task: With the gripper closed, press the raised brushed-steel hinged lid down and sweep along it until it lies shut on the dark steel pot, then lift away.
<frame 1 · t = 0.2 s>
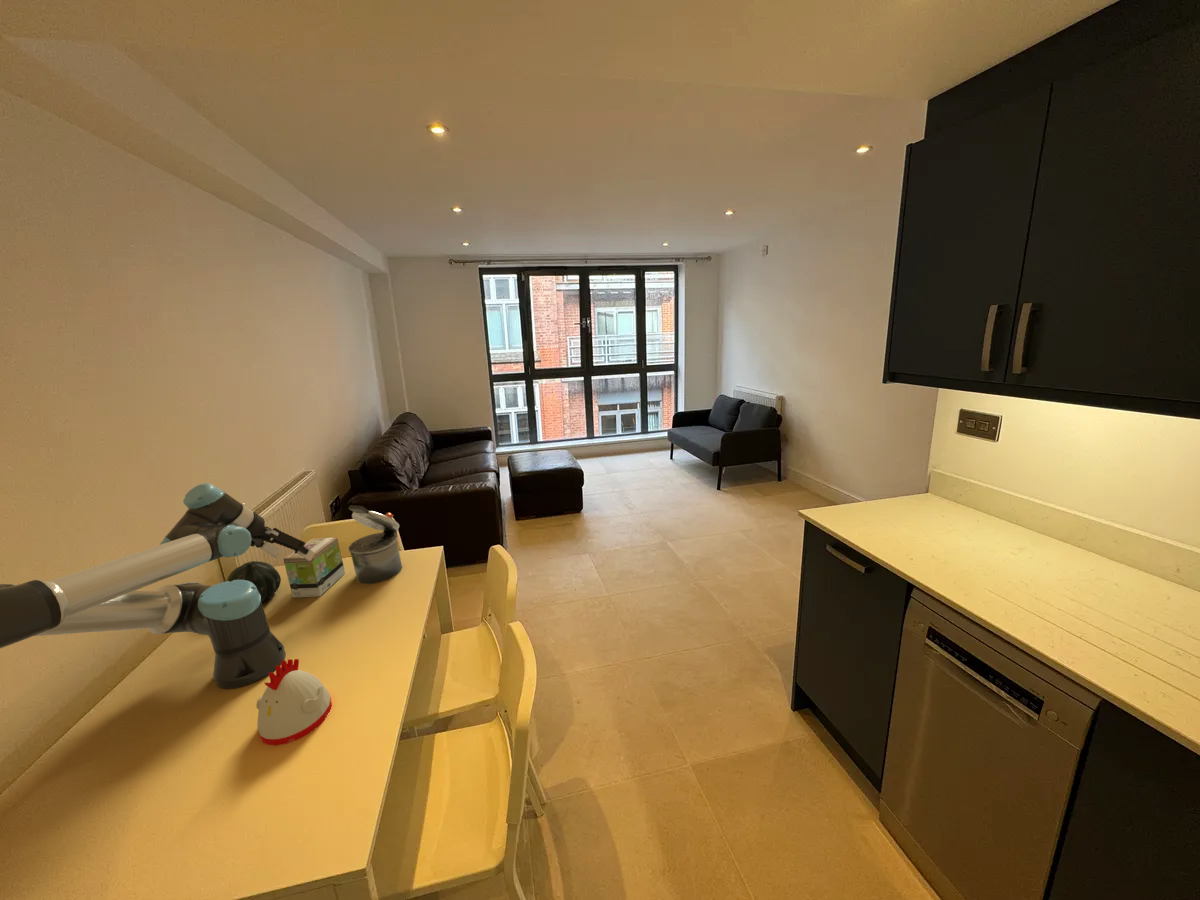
hand: (295, 555, 148), 16 cm above the table, tool tilted 35°, fingers open, 13 cm apart
lid: (375, 516, 163), point 20 cm above the table, hinge at 49.0°, touching pot
pot: (379, 572, 166), on the table
kitchen timer: (297, 718, 104), on the table
tea box: (320, 585, 160), on the table
squash: (258, 599, 154), on the table
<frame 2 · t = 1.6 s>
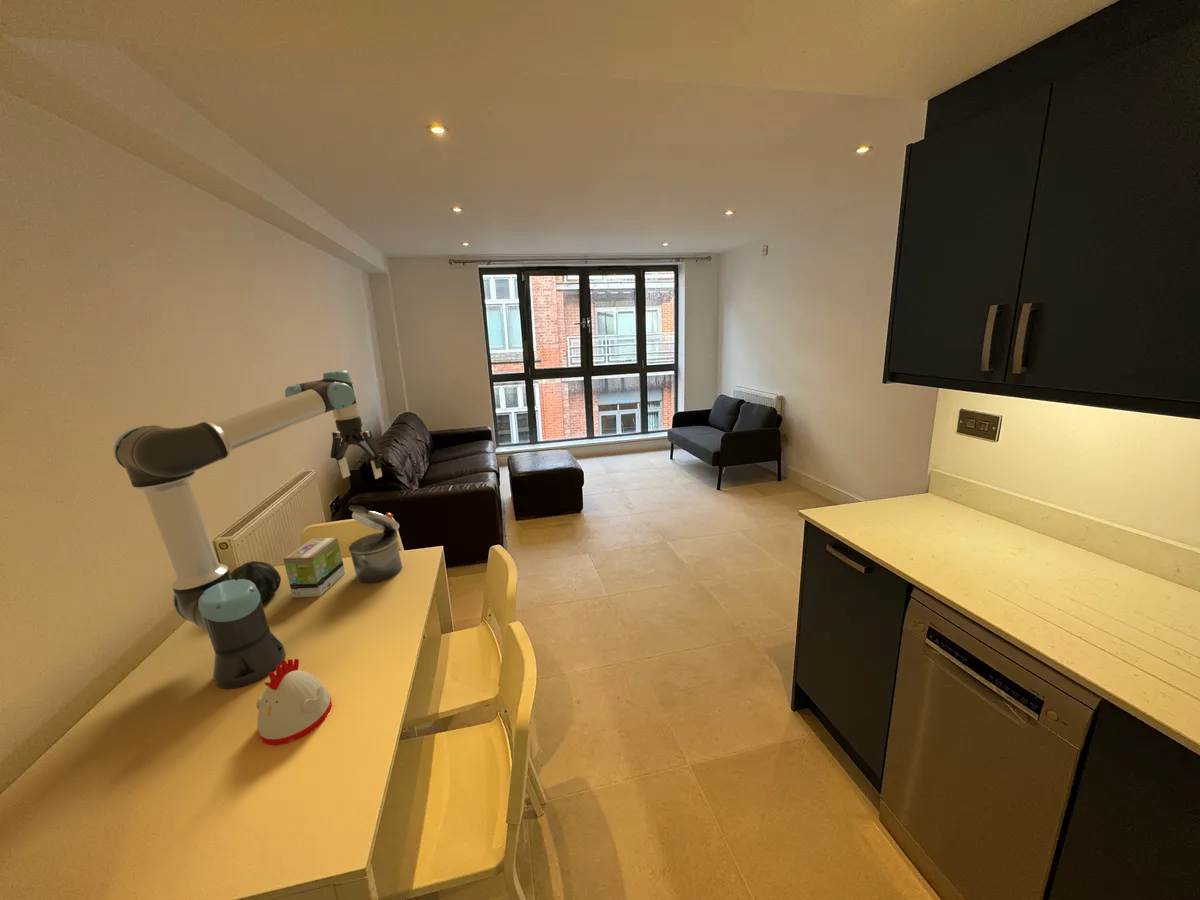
hand: (362, 477, 159), 35 cm above the table, tool pointing down, fingers open, 13 cm apart
nothing on the table moved.
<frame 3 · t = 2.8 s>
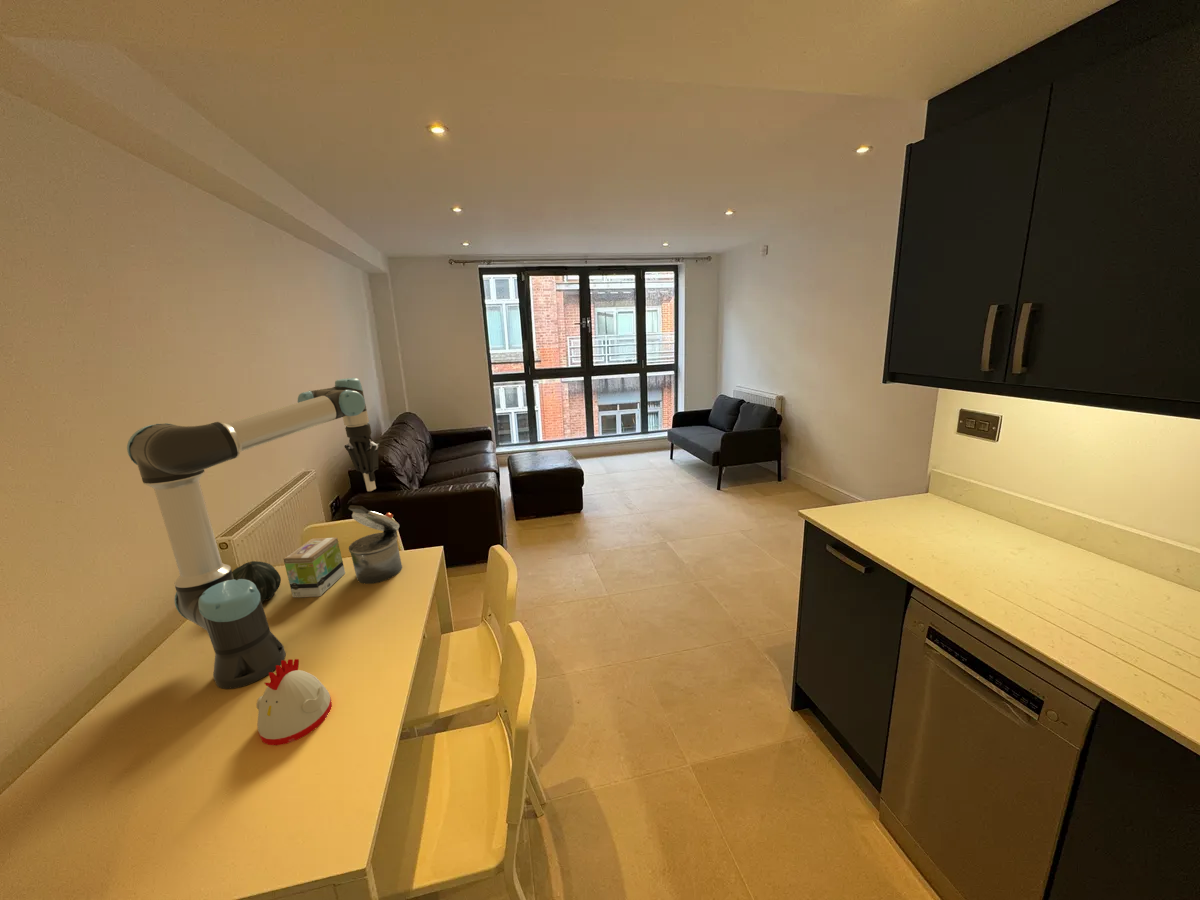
hand: (371, 489, 161), 30 cm above the table, tool pointing down, fingers closed
nothing on the table moved.
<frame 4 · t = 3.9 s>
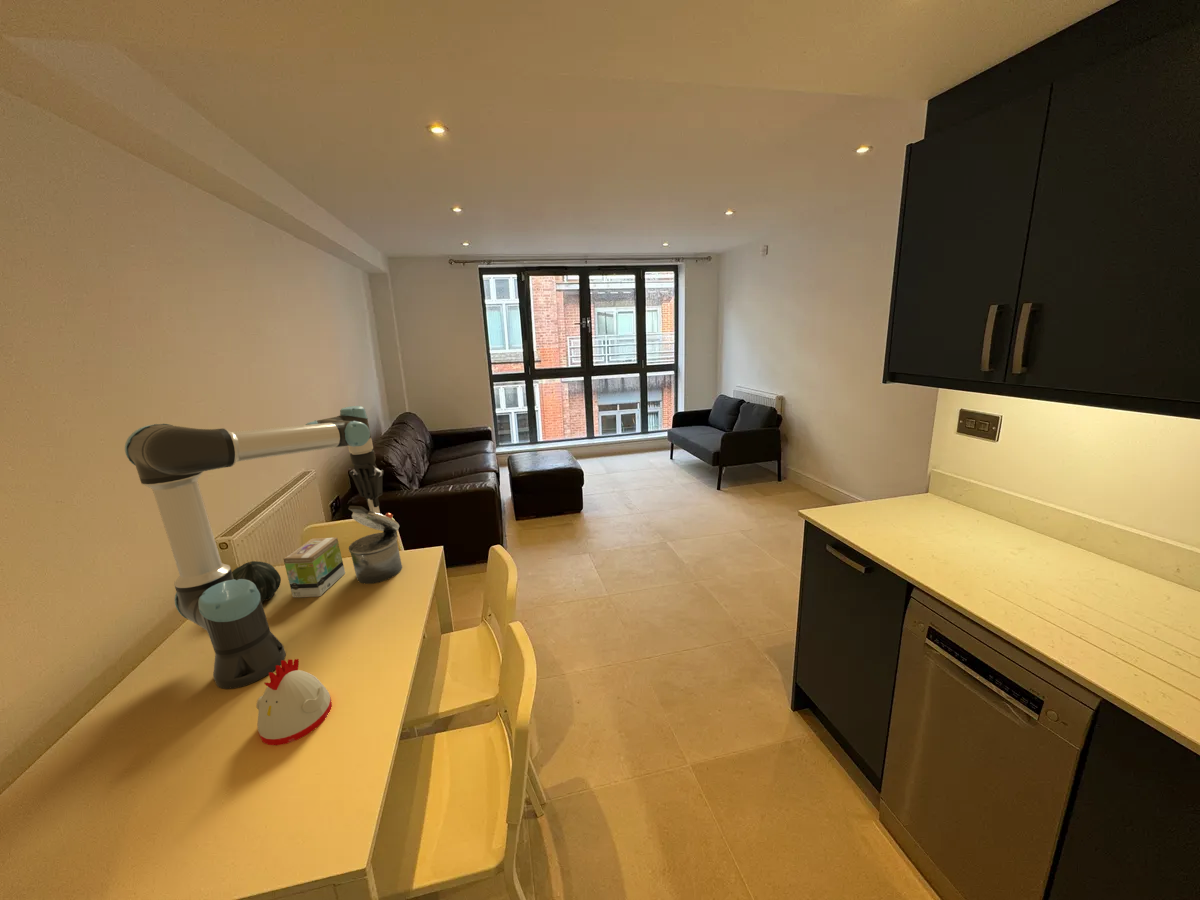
hand: (375, 514, 163), 21 cm above the table, tool pointing down, fingers closed
lid: (374, 516, 163), point 20 cm above the table, hinge at 48.5°, touching gripper, pot
everything else where it was.
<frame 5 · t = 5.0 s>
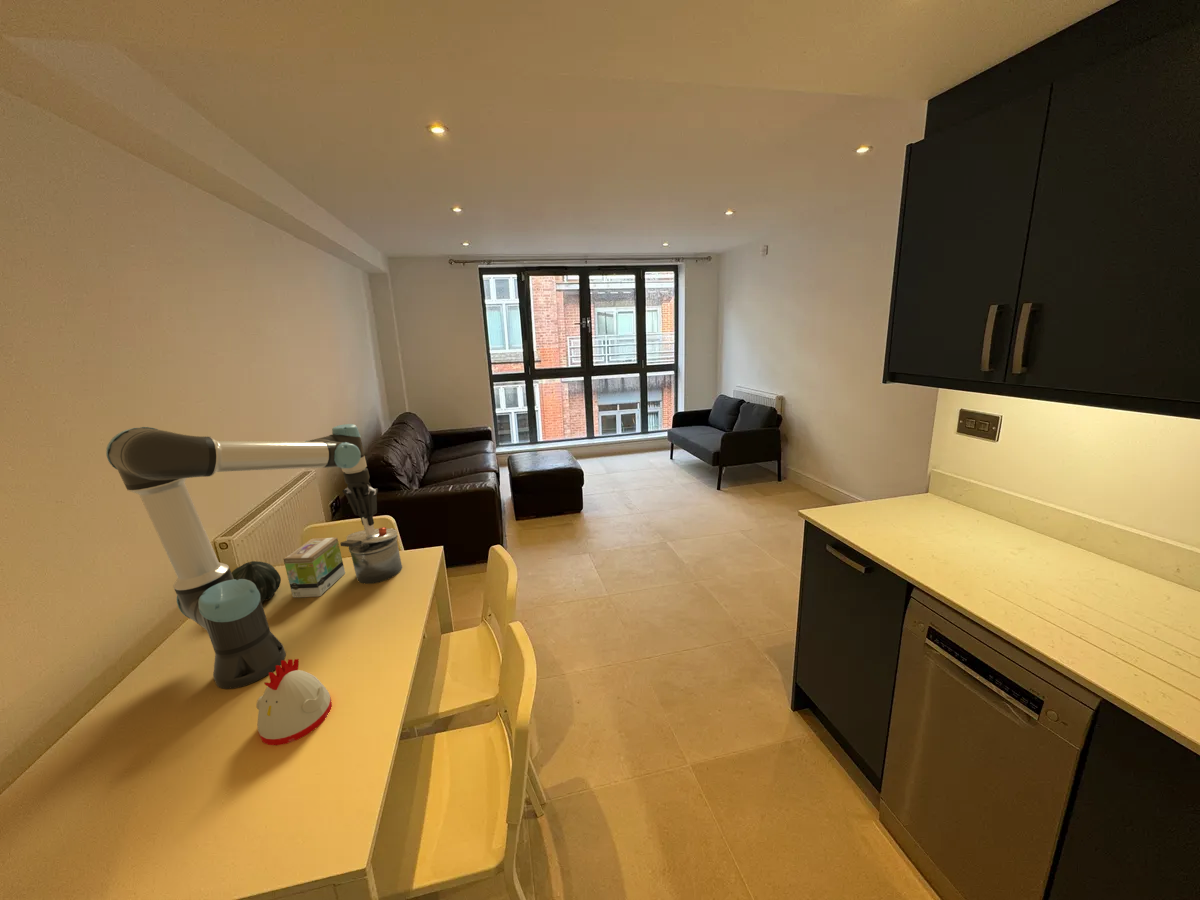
hand: (370, 533, 161), 16 cm above the table, tool pointing down, fingers closed
lid: (369, 533, 161), point 16 cm above the table, hinge at 11.1°, touching gripper
everything else where it was.
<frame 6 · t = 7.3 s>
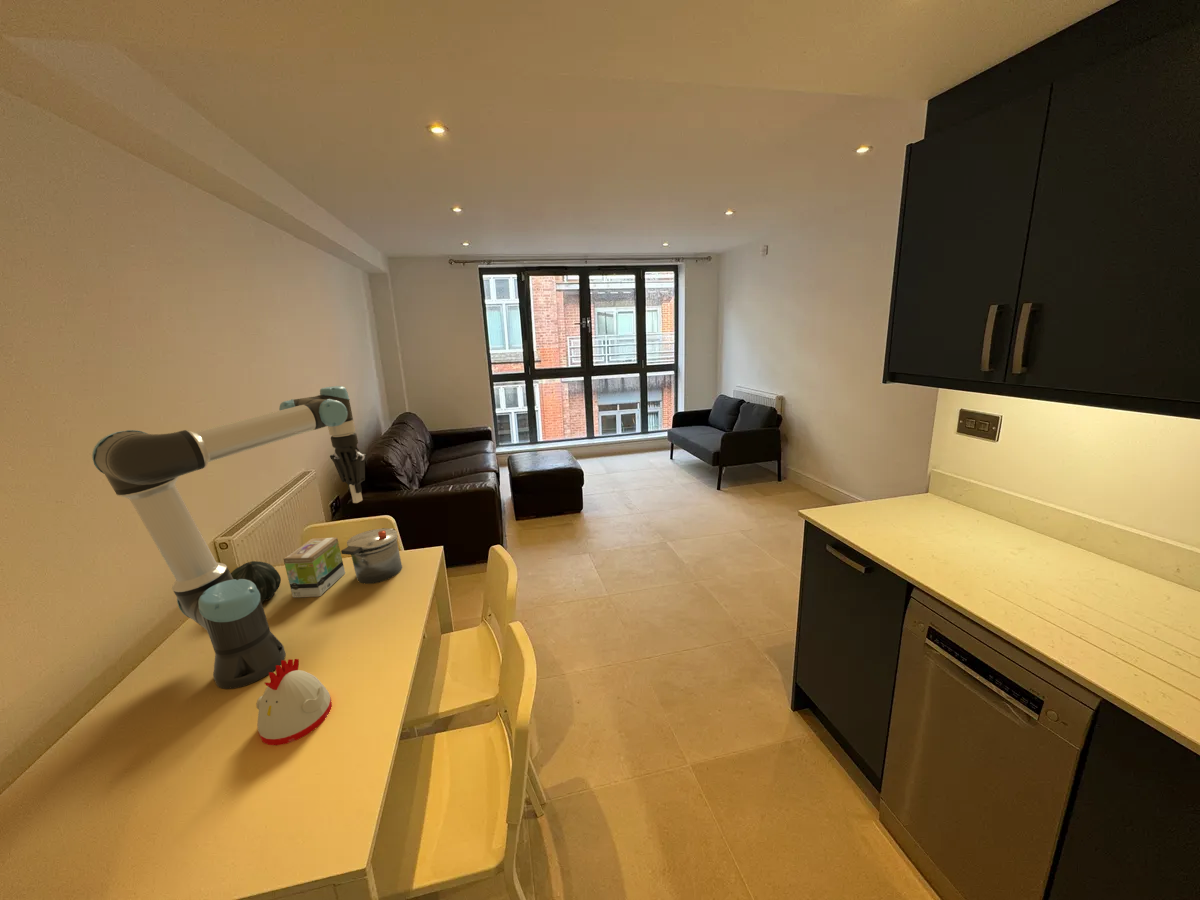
hand: (358, 501, 156), 28 cm above the table, tool pointing down, fingers closed
lid: (369, 537, 161), point 15 cm above the table, hinge at 3.2°
everything else where it was.
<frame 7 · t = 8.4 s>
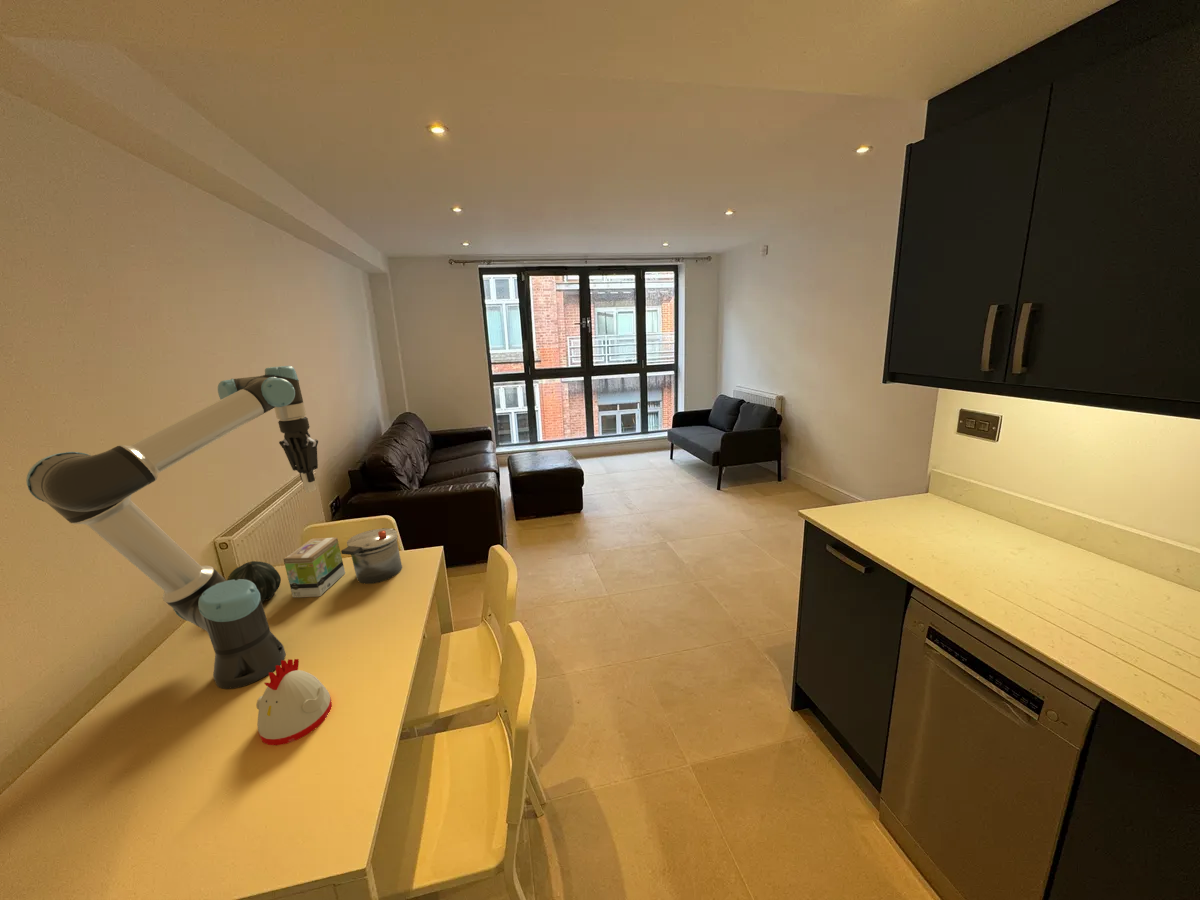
hand: (311, 491, 145), 36 cm above the table, tool pointing down, fingers closed
nothing on the table moved.
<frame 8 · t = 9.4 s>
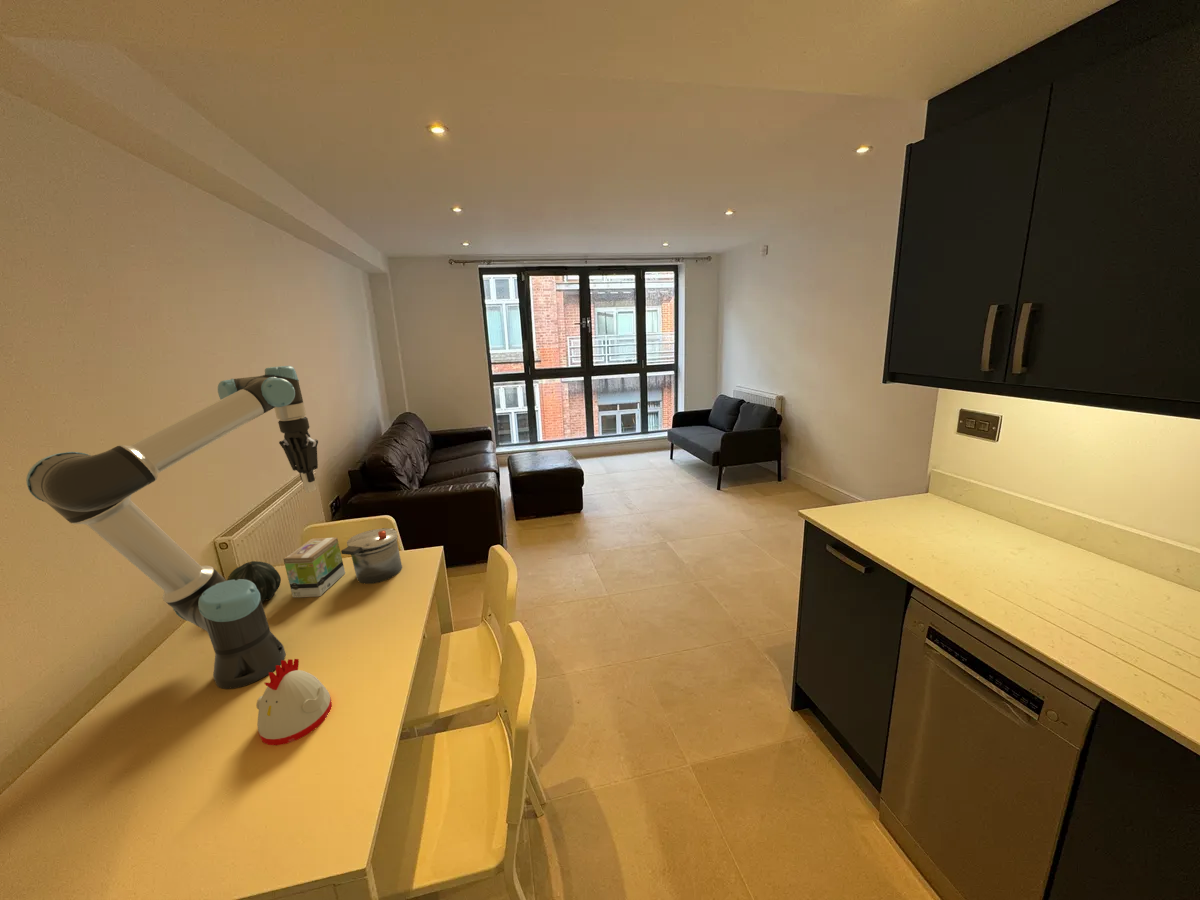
hand: (311, 491, 145), 36 cm above the table, tool pointing down, fingers closed
nothing on the table moved.
at the end: lid at +3° (first picture: +49°); tea box moved 0.3 cm from its start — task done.
